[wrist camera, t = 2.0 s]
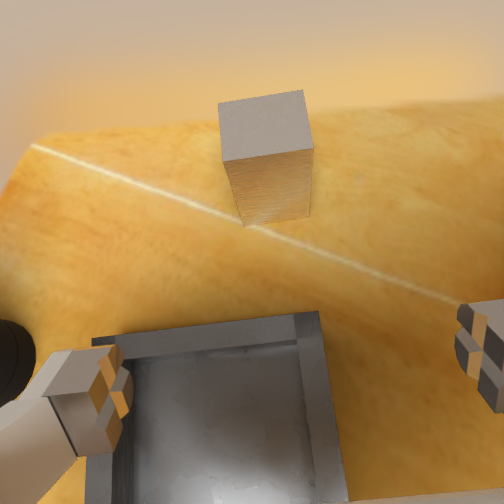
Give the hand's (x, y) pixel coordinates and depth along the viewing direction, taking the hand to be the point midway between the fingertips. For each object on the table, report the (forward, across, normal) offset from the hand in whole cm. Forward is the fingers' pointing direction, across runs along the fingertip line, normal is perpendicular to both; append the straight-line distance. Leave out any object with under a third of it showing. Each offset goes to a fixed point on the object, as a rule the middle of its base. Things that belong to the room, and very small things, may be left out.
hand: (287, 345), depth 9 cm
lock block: (+21, 0, +3) cm, 22 cm away
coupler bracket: (+10, +5, +15) cm, 18 cm away
